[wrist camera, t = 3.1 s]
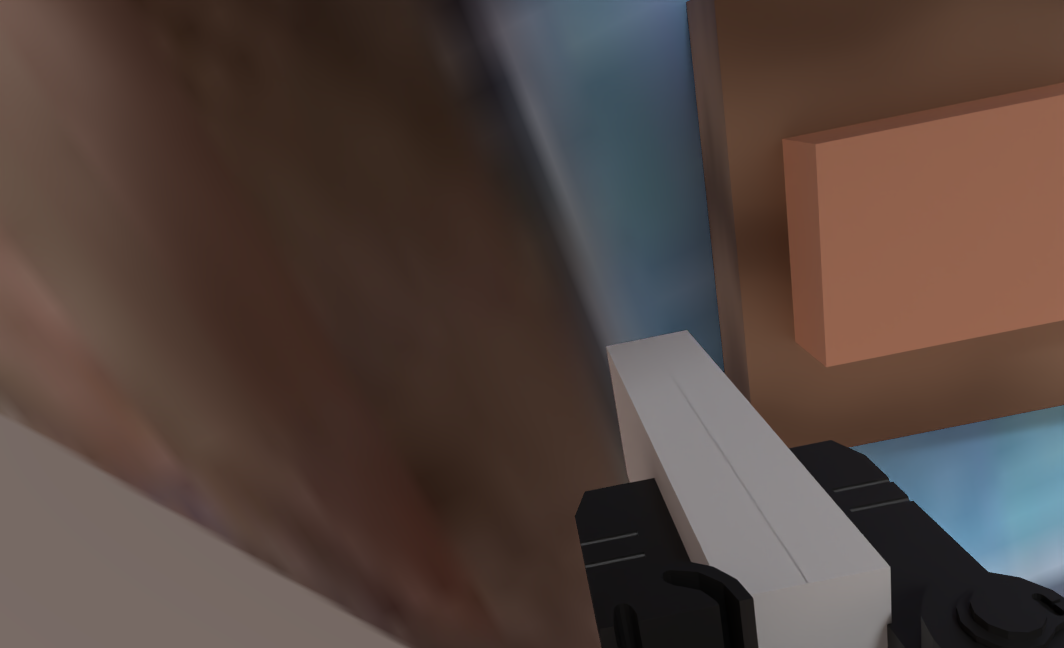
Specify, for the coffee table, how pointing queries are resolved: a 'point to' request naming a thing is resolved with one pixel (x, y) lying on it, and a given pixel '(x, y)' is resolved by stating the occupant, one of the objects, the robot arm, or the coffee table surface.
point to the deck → (761, 213)
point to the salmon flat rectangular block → (927, 226)
